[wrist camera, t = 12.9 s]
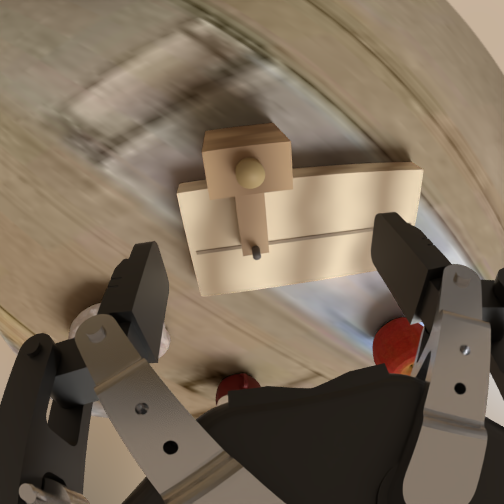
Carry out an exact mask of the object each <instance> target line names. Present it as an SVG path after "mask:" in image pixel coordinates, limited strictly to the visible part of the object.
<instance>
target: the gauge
mask: <svg viewBox="0 0 504 504" xmlns="http://www.w3.org/2000/svg"><path fill="white" fill-rule="evenodd" d="M202 157H203V163H204V169H205V175H206V181H207V187H208V192H209V198H210V200H215V199H222V198H229V197H235V201H236V209H237V216H238V224H239V231H240V238H241V246H242V253H243V256H248V255H253V258H254V259H255V260H259V259H260V258H261V254H263V253H269V243H268V231H267V219H266V207H265V195H264V193H267V192H275V191H284V190H292V189H293V173H292V153H291V141H290V140H289V139H288V138H287V137H286V136H285V135H284V134H283V133H282V132H281V131H280V129H279V128H278V127H277V126H276V125H275V124H274V123H266V124H256V125H247V126H239V127H231V128H223V129H216V130H209V131H205V137H204V142H203V148H202Z"/></svg>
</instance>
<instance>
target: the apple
mask: <svg viewBox="0 0 504 504" xmlns="http://www.w3.org/2000/svg"><path fill="white" fill-rule="evenodd" d="M422 330H423V326H422V325H420V324H419V323H416V324H412V325H410V323H409V322H408V320H407V318H406V317H400V318H397V319H394V320H392V321H390V322H388V323H387V324H385V325H384V326H383V327H382V328H381V329H380V330H379V331H378V332H377V333H376V335H375V337H374V341H373V357H374V362H375V364H376V365H378V364H382V363H385V365H386V367H387V370H388V372H389V373H394V374H403V375H409V376H410V375H411V372H412V369H413V365H414V362H415V358H416V354H417V350H418V346H419V341H420V337H421V333H422Z"/></svg>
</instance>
